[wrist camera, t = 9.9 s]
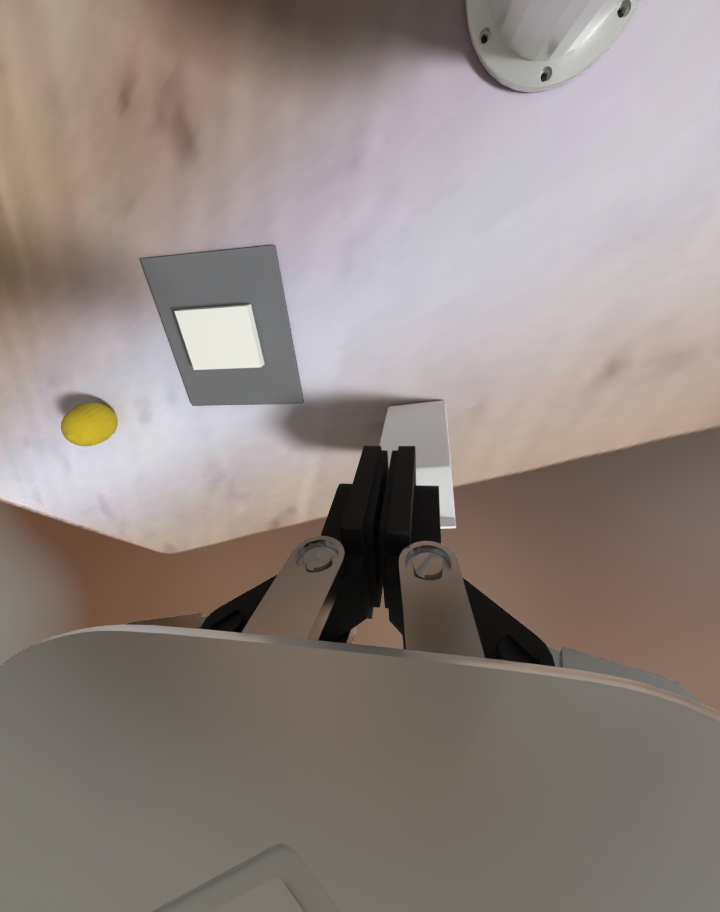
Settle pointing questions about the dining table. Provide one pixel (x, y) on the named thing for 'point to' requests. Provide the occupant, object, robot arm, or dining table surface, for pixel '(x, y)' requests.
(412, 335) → the dining table surface
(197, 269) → the mat
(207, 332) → the tile
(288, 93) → the dining table surface
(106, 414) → the lemon
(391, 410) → the milk carton
